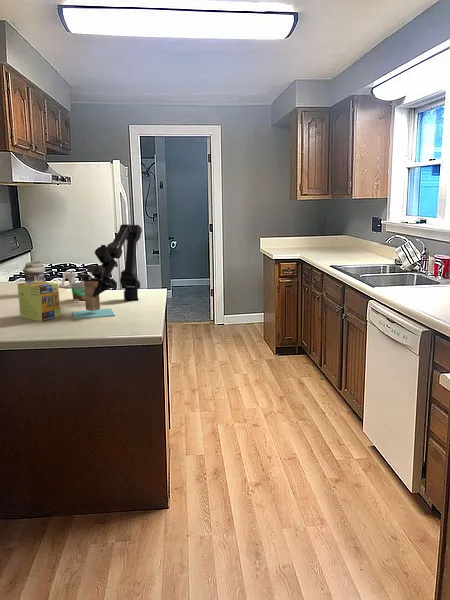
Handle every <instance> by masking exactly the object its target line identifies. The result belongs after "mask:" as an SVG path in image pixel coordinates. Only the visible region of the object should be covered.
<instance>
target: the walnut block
mask: <svg viewBox="0 0 450 600" xmlns="http://www.w3.org/2000/svg"><path fill="white" fill-rule="evenodd" d="M97 286H98V281H87V282H84V288H85V301H84V302H85V310H90V311H95V310H98V309H101V302H100V301H101V300H100V294H99V295H97V296H96V297H93V294H94V292H95V290H96V288H97Z"/></svg>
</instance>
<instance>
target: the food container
mask: <svg viewBox="0 0 450 600" xmlns="http://www.w3.org/2000/svg"><path fill="white" fill-rule="evenodd" d="M70 289H71V293H72V301H84V302H85V288H84V281H83V280H82V279H81V281H79V282H76V283H75V284H72V283H71V288H70Z"/></svg>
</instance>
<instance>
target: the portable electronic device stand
mask: <svg viewBox="0 0 450 600" xmlns="http://www.w3.org/2000/svg"><path fill="white" fill-rule="evenodd" d="M76 277H78V273H77V272H66V271H65V272H63V275H62V279H61V280H62V281H61V283H58V288H65V289H72V288H71V283H72V284H75V283H77V282H76V280H75V278H76ZM66 278H67V281H68V283H69V284H67V283H66ZM65 283H66V285H65Z"/></svg>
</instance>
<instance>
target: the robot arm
mask: <svg viewBox="0 0 450 600" xmlns="http://www.w3.org/2000/svg"><path fill="white" fill-rule="evenodd" d="M142 231H143V229H142V227H141V226H140V225H139V224H127V223H126V224H125V223H123V224H120V226H119V229H118V232H117V233H116V235H115V237H114V239H113V241H112V242H110V243H108V244H107V245H106V244H101V245H100V246H98V247H97V248H96V249H95V250H94V254H95V255H94V256H95V257H96V258H97V260H99V263H101V264H97V265H92V264H91V265H90V264H89V265H88V266H87V269H86V272H87V273H88V274H86V273H83V274H82V275H81V276H80V279H81V281H82V280H83V281H84V282H87V281H98V286H97V288H96V290H95V292H94V294H93V297H96V296H97V295H99V296H100V294H102V293H104V292H105V291H107V290H109V289H113V290H115V289H116V288H117V287H118V281H116V280H115V279H114V278H113V277H112V276H113V274H112V272H113V270H114V268H118V261H116V260H115V259H117V260H119V259H120V258H121V257H122V254H123V249H122V247H123V246H124V244H125V242H127V243H126V253H125V254H126V255H125V267H124V269H123V270H122V271H121V272H120V279H119V282H120V286H121V289H123V299H124V300H125V301H126V302H131V301H132V302H133V301H134V302H135V301H140V300H139V296H138V295H139V294H138V293H139V291H138V290H139V289H141V282H140V280H139V279H138V273H137V272H136V270H135V269H136V256H137V255H136V254H137V244H138V243H137V242H138V241H139V240H140V239H141V236H142Z"/></svg>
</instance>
